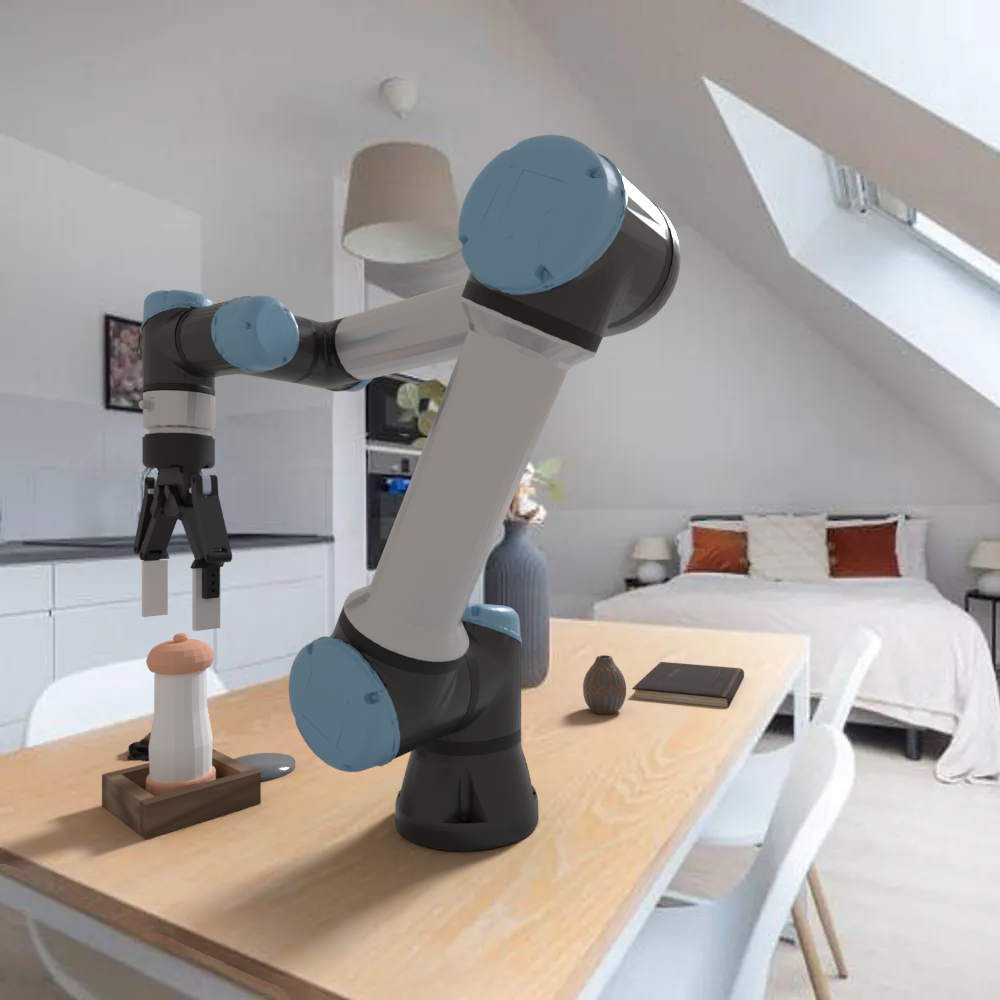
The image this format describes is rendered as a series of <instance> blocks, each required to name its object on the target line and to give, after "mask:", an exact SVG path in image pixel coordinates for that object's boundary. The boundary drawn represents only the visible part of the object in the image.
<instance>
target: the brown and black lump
mask: <svg viewBox="0 0 1000 1000" xmlns="http://www.w3.org/2000/svg"><path fill="white" fill-rule="evenodd" d="M150 735H151V731H150V732H149V733H148V734H147V735H145V736H144V737H143V738H142V739H140V740H139V741H134V742H132V743H130V744H129V745H128V749H127V751H128V752H129V754H128V755H127V757H126V758H127V760H128V762H129V761H132V762H137V761H139V762H141V761H142V762H145V761H147V762H149V742H150Z"/></svg>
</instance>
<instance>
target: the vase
mask: <svg viewBox="0 0 1000 1000" xmlns="http://www.w3.org/2000/svg"><path fill="white" fill-rule="evenodd" d="M582 693H583V694H582V695H583V699H584V701H585V704H586V705H587V707H588V708H589V710H591V711H592V712H593V713H595V714H598V715H611V714H616V713H618V712H619V710H620V709H622V708H623V705H624V704H625V701H626V696H627V684H626V681H625V676H624V674H623V673H622V671H621V670H620V668H619V667H618V666H617V664H616V663H615V662H614V659H613V657H612V656H610V655H605V654H603V655H597V656H596V658H595V660H594V661H593V664H592V665H591V666H590V667H589V669H588V670H587V672H586V673H585V676H584V678H583V684H582Z"/></svg>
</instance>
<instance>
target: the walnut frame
mask: <svg viewBox="0 0 1000 1000" xmlns="http://www.w3.org/2000/svg"><path fill="white" fill-rule="evenodd" d="M212 766H214V767H215V769H216V780H212V781H209V782H205V783H202V784H198V785H195V786H191V787H187V788H184V789H180V790H177V791H173V792H169V793H166V794H162V795H159V796H154V795H152V794H151V793H149V792H148V791H146V778H147V776H148V775H149V774H150V771H149V762H147V763H142V764H139V765H135V766H130V767H126V768H122V769H117V770H114V771H110V772H106V773H102V774H101V806H102V808H104V809H105V810H107V811H108V812H109V813H111V814H112V815H113V816H115V817H116V818H117V819H118V820H120V821H121V822H122V823H124V824H125V825H127V826H128V827H129V828H130V829H132V831H134V832H135V833H136V834H138V835H139V836H141V837H142V838H143V839H145V840H149V839H153V838H156V837H159V836H162V835H164V834H168V833H171V832H175V831H179V830H181V829H185V828H187V827H189V826H190V827H191V826H193V825H194V826H195V825H197V824H199V823H202V822H206V821H209V820H212V819H215V818H218V817H221V816H225V815H228V814H230V813H235V812H238V811H241V810H243V809H247V808H249V807H250V808H251V807H253V806H254V807H255V806H257V805H260V804H261V803H262V796H261V793H262V791H261V789H262V787H261V786H262V783H261V782H262V781H261V772H259V771H257V770H255V769H253V768H251V767H249V766H247V765H245V764H243V763H241V762H239V761H237V760H235V758H233V757H230V756H229V755H227V754H224V753H222V752H220V751H218V750H216V749H213V748H212Z"/></svg>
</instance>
